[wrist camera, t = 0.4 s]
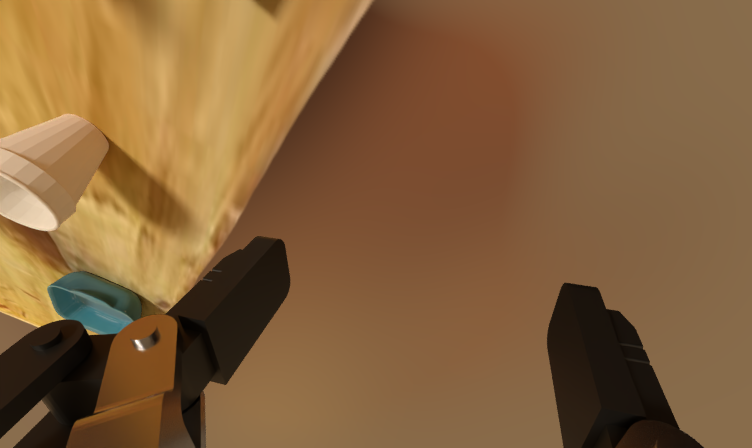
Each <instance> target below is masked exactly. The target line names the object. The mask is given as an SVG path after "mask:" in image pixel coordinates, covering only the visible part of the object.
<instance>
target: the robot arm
mask: <svg viewBox="0 0 752 448" xmlns="http://www.w3.org/2000/svg"><path fill="white" fill-rule="evenodd" d="M289 288H290V275H289V268H288V262H287V255H286V249H285V244H284V242H283V241H282V240H281V239H275V238H268V237H262V236H257V237H255V238H254V239H253V240H252V241H251V242H250V243H249V244H248V245H247V246H246V247H245V248H244V249H243V250H237V251H236V252H234V253H232V254H230V255H228V256H226V257H225V258H223V259H222V260H221V261H220V262H219V263H218V264H217V265H216V266H215V267H214V268H213V269H212V271H210V272H209V273H208V274H207V275H206V276H205V277H204V278H203V280H200V281H199V282H198V283H197V284H196V285H195V286H194V287H193V288H192V289H191V290H190V291H189V292H188V293H187V294H186V295H185V296H184V297H183V298H182V299H181V300H180V301H179V302H178V303H177V304H176V305H174V306H173V307H172V308H171V309H170V310H169V311H168V312H167V313H166V314H165V315H162V314H158V315H150V316H146V317H143V318H140V319H138V320H136V321H134V322H132V323H130V324H129V325H127V326H126V327H124V328H123V329H122V330H121V331H120V332H119V333H116V334H102V335H89V334H88V333H87V331H86V329H85V327H84V326H83V324H82V323H81V322H79V321H77V320H71V319H68V320H59V321H55V322H52V323H49V324H46V325H44V326H41V327H39V328H37V329H35V330H34V331H32V332H30V333H29V334H27V335H26V336H24V337H23V338H22V339H20V340H19V341H18V342H17V343H15V344H14V345H12V346H11V347H10V348H9V349H7V350H6V351H5V352H3V353H2V354H1V355H0V439H1V437H2V436H3V435H5V434H6V433H7V431H9V430H10V429H11V428H12V427H13V426H14V425H15V424H16V423H17V422H18V421H19V420H20V419H21V418H23V417H24V416H25V415H26V414H27V413H28V412H29V411H30V410H31V409H32V408H33V407H34V406H35V405H36V404H37V403H38V402H39V401H41V400H42V401H43V402H44V404H45V405H46V406H47V408H48V409H49V410H50V412H49V413H48V414H47V415H46V416H45V417H44V418H43V419H42V420H41V421H40V422H39V423H38V424H37V425H36V426H35V427H34V428H32V429H31V430H30V432H29V433H28V434H26V436H24V437H23V439H21V440H20V442H18V443H17V444H16V445H15V446H14V447H13V448H206V425H205V394H204V391H203V390H204V388H205V387H206V386H207V384H208V383H209V381H212V382H216V383H220V384H224V385H226V384H227V383H228V381H229V379H230V378H231V377H232V375H233V374H234V372H235V371H236V369H237V368H238V367H239V365H240V364H241V362H242V361H243V359H244V357H245V356H246V355H247V353H248V352H249V351H250V349H251V348H252V346H253V345H254V343H255V342H256V340H257V339H258V338H259V336H260V335H261V333H262V332H263V330H264V329H265V327H266V326H267V324H268V323H269V322H270V320H271V319H272V317H273V316H274V314H275V313H276V311H277V310H278V308H279V307H280V305H281V304H282V303H283V301H284V300H285V298H286V296H287V294H288V292H289ZM547 348H548V355H549V360H550V366H551V373H552V379H553V385H554V391H555V397H556V404H557V410H558V416H559V422H560V428H561V434H562V440H563V446H564V448H704V447H703V446H702V445H701V444H700V443H698V442H697V441H696V440H695V439H693V438H692V437H691V436H689V435H688V434H687V433H685V432H683V431H682V430H680V428H679V427H678V424H677V422H676V420H675V418H674V415H673V413H672V411H671V408H670V406H669V404H668V402H667V399H666V398H665V395H664V393H663V390H662V388H661V386H660V384H659V381H658V379H657V377H656V374H655V372H654V370H653V368H652V366H651V365H650V364H649V363H650V361H649V359H648V356H647V354H646V352H645V350H643V345H642V343H641V340H640V338H639V336H638V334H637V331H636V329H635V328H634V326H633V325H632V324H631V323H630V322H629V321H628V320H627V319H626V318H625V317H624V316H623V315H622V314H621V313H620V312H619V311H615V310H609V309H606V307H605V305H604V302H603V299H602V297H601V294H600V291H599V290H598V288H596V287H591V286H583V285H577V284H571V283H564V284H563V286H562V287H561V290H560V293H559V296H558V299H557V302H556V305H555V308H554V311H553V314H552V317H551V321H550V323H549V328H548V334H547Z"/></svg>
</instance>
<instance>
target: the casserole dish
mask: <svg viewBox="0 0 752 448" xmlns="http://www.w3.org/2000/svg"><path fill="white" fill-rule="evenodd" d="M47 290H48V293H49V296H50V298H51V301H52V304H53V306H54V309H55V310H56V312H57V313H58V314H59V315H60V316H62V317H63V318H65V319H66V320H68V319H71V320H77V321H79V322H81V323H82V324H83V326H84V327H85V329H88V330H90V331H93V332H95V333H98V334H100V335H102V334H116V333H119V332H120V331H121V330H122V329H123V328H124V327H126V326H127V325H129V324H130V323H132V322H134V321H136V320H138V319H140V318H141V312H142V306H141V302H140V300H139V297H138V296H137V295H136V294H135V293H133V292H132V291H130V290H128V289H126V288H124V287H121V286H119V285H117V284H115V283H112V282H109V281H107V280H105V279H103V278H100V277H98V276H96V275H93V274H90V273H88V272H84V271H80V272H73V273H70V274H68V275H66V276H64V277H62V278H61V279H59V280H57V281H56V282H54V283H53V284H51V285H50V286H48V288H47Z"/></svg>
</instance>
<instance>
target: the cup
mask: <svg viewBox="0 0 752 448" xmlns="http://www.w3.org/2000/svg"><path fill="white" fill-rule="evenodd" d="M108 150H109V143H108V141H107V139H106V137H105V136H104V135H103V134H102V132H101V131H100V130H99V129H98V128H97V127H95V126H94V125H93V124H91V123H90V122H89V121H87V120H85V119H84V118H81V117H79V116H77V115H73V114H65V115H62V116H59V117H57V118H54V119H52V120H49V121H46V122H44V123H41V124H38V125H36V126H33V127H30V128H28V129H25V130H22V131H20V132H17V133H15V134H12V135H9V136H7V137H4V138H1V139H0V214H1V215H3V216H4V217H6V218H8V219H11V220H13V221H15V222H17V223H19V224H22V225H25V226H27V227H30V228H34V229H37V230H43V231H53V230H57V229H58V228H59V227H60V225H61V224H62V223H63V222H64V221H65V220H67V219H68V218H69V217H70V216H71V215H72V214H74V213H75V212H76V204H77V203H78V201H79V199H80V198H81V196H82V194H83V192H84V191H85V189H86V187H87V186H88V184H89V182H90V181H91V179H92V177H93V176H94V174H95V172H96V170H97V169H98V167H99V165H100V164H101V162H102V160H103V159H104V157H105V155H106V153H107V152H108Z"/></svg>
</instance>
